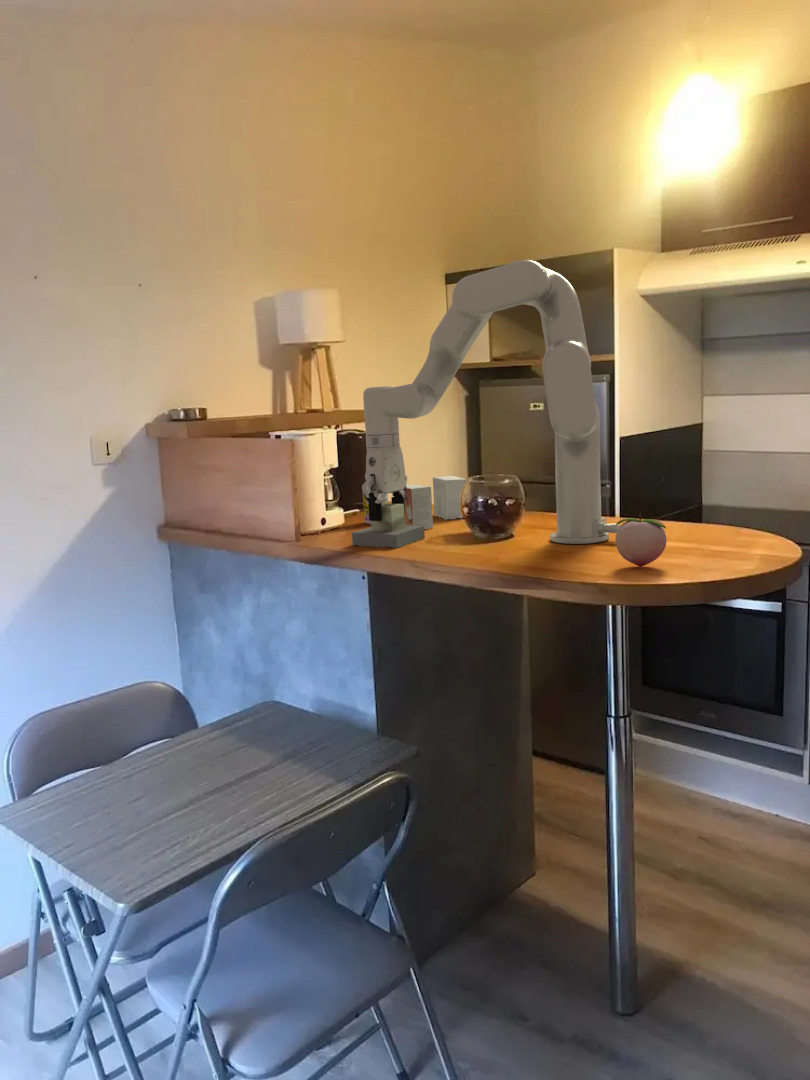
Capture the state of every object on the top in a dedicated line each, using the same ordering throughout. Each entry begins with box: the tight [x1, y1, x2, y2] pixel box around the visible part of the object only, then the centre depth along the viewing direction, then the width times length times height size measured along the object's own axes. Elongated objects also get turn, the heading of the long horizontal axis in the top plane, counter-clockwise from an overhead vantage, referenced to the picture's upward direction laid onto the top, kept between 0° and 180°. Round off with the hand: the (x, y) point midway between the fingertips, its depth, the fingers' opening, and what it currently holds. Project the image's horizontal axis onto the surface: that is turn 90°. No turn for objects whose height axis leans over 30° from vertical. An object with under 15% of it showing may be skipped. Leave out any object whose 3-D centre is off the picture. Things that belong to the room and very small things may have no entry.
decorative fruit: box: [615, 513, 668, 568], centre depth 168 cm, size 9×8×10 cm
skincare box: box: [432, 475, 468, 521], centre depth 242 cm, size 10×6×10 cm, turn 16°
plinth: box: [351, 525, 426, 549], centre depth 210 cm, size 12×12×3 cm
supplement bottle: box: [361, 474, 390, 525], centre depth 239 cm, size 7×7×13 cm
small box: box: [404, 483, 434, 530], centre depth 227 cm, size 8×6×10 cm
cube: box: [371, 503, 405, 532], centre depth 209 cm, size 6×6×6 cm
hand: (387, 517), depth 209 cm, fingers open, 9 cm apart
